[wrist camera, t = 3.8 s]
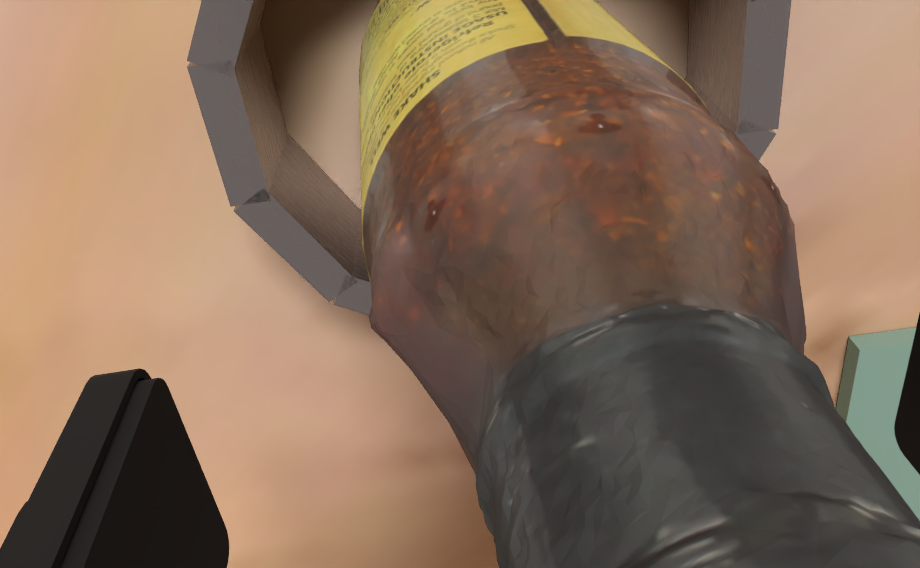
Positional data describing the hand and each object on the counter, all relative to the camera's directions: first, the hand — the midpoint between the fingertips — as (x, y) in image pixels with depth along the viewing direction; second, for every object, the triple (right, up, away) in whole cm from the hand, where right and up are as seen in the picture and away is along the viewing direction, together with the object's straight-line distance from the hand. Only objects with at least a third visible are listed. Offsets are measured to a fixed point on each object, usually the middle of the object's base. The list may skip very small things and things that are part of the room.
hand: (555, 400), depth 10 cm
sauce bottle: (-1, +8, +12) cm, 15 cm away
